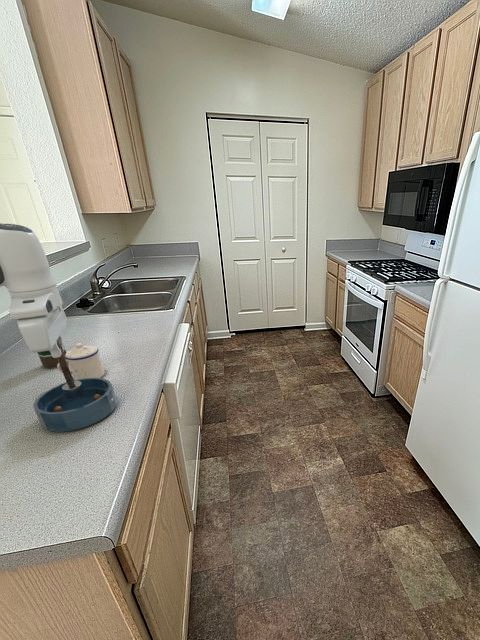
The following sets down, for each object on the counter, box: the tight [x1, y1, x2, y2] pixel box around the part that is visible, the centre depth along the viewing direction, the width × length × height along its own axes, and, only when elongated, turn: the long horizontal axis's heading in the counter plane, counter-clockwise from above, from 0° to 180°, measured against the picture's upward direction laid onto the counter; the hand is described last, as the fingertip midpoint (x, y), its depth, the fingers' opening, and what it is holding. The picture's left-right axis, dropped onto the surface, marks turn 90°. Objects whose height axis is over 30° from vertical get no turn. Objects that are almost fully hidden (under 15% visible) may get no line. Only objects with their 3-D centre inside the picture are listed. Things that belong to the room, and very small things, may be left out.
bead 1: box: [53, 406, 63, 412], centre depth 89 cm, size 2×2×2 cm
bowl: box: [33, 377, 118, 433], centre depth 89 cm, size 18×18×6 cm
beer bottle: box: [36, 344, 67, 369], centre depth 112 cm, size 8×8×24 cm
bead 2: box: [94, 394, 102, 400], centre depth 94 cm, size 2×2×2 cm
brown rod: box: [57, 339, 85, 399], centre depth 84 cm, size 4×4×18 cm
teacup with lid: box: [56, 342, 106, 380], centre depth 105 cm, size 12×9×12 cm
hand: (59, 353), depth 82 cm, fingers closed on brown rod
